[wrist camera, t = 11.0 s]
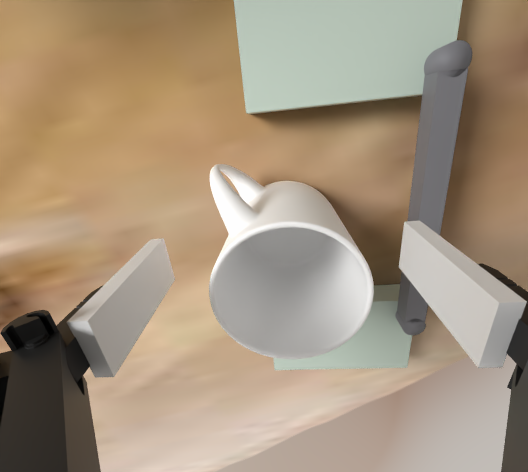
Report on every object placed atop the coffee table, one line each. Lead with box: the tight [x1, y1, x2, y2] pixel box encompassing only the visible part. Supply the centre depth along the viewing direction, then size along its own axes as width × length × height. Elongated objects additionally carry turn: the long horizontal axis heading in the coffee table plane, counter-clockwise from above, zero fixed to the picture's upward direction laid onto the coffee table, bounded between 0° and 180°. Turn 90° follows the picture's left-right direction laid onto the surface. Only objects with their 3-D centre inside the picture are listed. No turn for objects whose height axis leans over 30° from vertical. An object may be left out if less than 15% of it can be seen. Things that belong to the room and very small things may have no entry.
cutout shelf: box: [234, 0, 472, 370], centre depth 21 cm, size 32×13×4 cm, turn 6°
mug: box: [209, 164, 374, 359], centre depth 18 cm, size 9×12×11 cm
